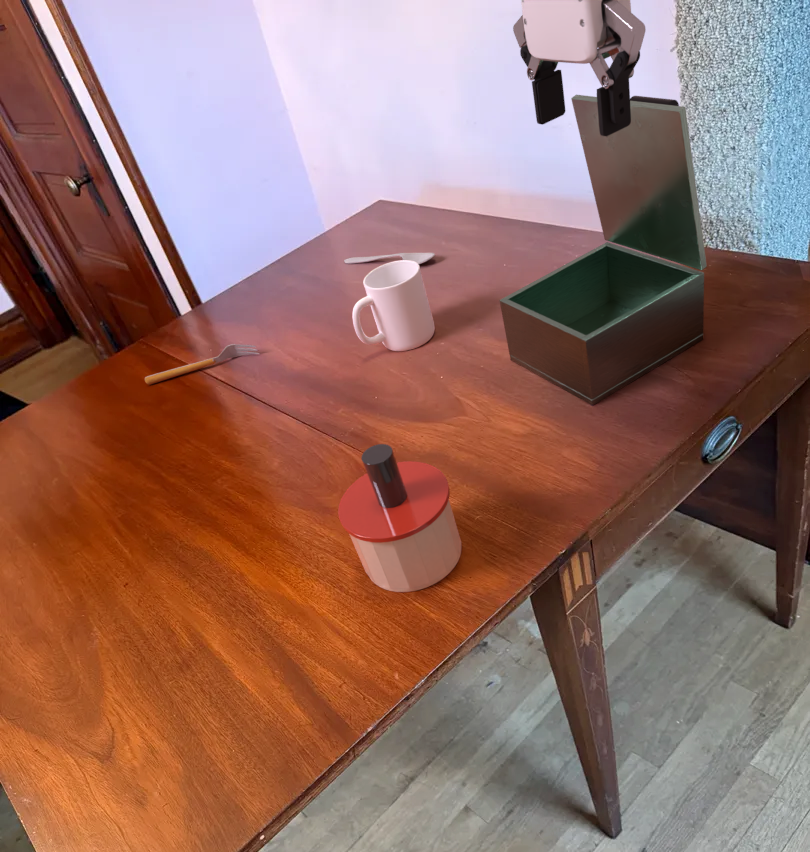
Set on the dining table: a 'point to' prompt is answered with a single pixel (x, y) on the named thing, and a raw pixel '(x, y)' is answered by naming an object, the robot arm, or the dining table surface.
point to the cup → (396, 306)
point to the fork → (202, 363)
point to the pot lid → (392, 497)
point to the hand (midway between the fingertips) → (582, 124)
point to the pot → (413, 556)
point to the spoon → (405, 256)
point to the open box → (604, 320)
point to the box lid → (645, 179)
